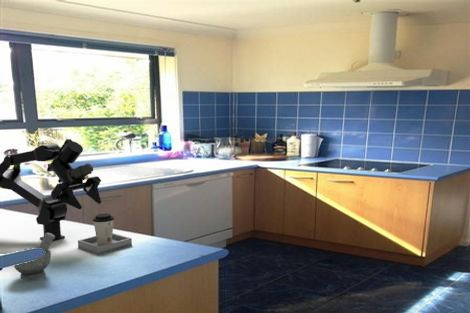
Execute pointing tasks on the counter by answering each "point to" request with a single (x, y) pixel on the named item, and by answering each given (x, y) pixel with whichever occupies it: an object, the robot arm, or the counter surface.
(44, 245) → the mortar and pestle
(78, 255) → the counter surface
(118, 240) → the tray
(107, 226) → the coffee cup
